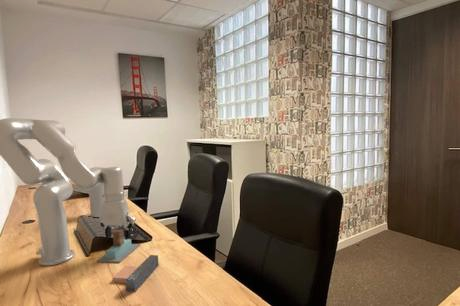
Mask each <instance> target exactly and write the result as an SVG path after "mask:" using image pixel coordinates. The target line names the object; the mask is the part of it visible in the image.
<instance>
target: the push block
mask: <svg viewBox="0 0 460 306" xmlns="http://www.w3.org/2000/svg"><path fill="white" fill-rule="evenodd" d="M111 232H112V236H113V237H112V241H113V245H112V246H111V247H110V248H108V249H106V250H105V254H106V257H107V258H113V259H116V258H117V257H118V256H119V255H121V254H122V253H123V252H124V251H126V250H127V249H128V248H129V247H131V246H132V245H131V244H132V239H130V238H129V239H127V240H125V234H124V229H115V230H114V231H111Z"/></svg>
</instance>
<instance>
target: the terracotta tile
mask: <svg viewBox="0 0 460 306" xmlns="http://www.w3.org/2000/svg"><path fill="white" fill-rule="evenodd" d="M138 267H139V266H131V265H130V266H129V265H125V266H124V267H122V268H121V269H120V270H119V271H118V272H117V273H116V274H115V275H114V276H113V277H112V282H113V283H124V284H126V279H127V278H128V277H129V276H130V275H131V274H132V273H133V272H134V271H135V270H136V269H137V268H138Z"/></svg>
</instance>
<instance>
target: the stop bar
mask: <svg viewBox="0 0 460 306" xmlns="http://www.w3.org/2000/svg"><path fill="white" fill-rule="evenodd" d="M159 264H160V263H159V255H156V254H155V255H154V254H150V255H149V256H148V257H147V258H146V259H145V260H143V262H142V263H141V264H140V265H139V266H137V267H138V268H137V269H136V270H135V271H134V272H133V273H132V274H131V275H130V276H129V277H128V278H127V279H126V283H125V289H126V292H128V293H129V292H130V293H136V292H137V291H138V289H139V288H141V286H143V284H144V283H145V281H147V280H148V278H150V276H151V275H152V274H153V273H154V271H155V270H156V269H158V268H159V266H160V265H159Z"/></svg>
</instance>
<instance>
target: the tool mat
mask: <svg viewBox="0 0 460 306" xmlns="http://www.w3.org/2000/svg"><path fill="white" fill-rule="evenodd" d="M131 245H132V246H131V247H129V248H128V249H127V250H126V251H124V252H123V253H122V254H121V255H119V256H118V257H117V258H116V259H113V258H107V257H106V253H104V254H103V255H102V256H101V257H98V259H96V262H97V263H110V262H115V264H120V263H122V262H123V261H124V260H125V259H126V258H128V257H129V256H130V255H131V254H133V252H135V251H136V250H137V249H138V248H139V247H140V246H141V243H131ZM135 249H136V250H135ZM129 254H130V255H129ZM128 255H129V256H128ZM123 259H124V260H123ZM122 260H123V261H122Z"/></svg>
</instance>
